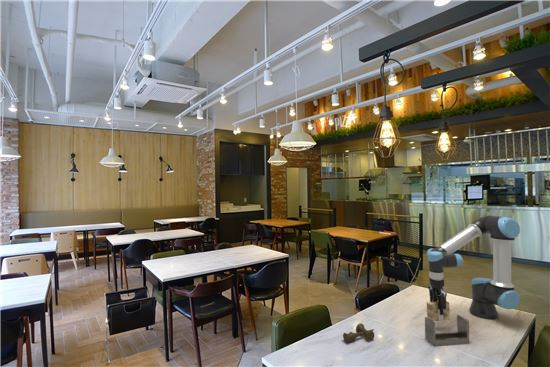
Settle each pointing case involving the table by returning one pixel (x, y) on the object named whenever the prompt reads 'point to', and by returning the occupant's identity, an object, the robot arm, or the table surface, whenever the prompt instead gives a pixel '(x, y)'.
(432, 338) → the grey u-shaped piece
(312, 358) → the table surface
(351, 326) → the table surface
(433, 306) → the door panel
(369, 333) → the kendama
